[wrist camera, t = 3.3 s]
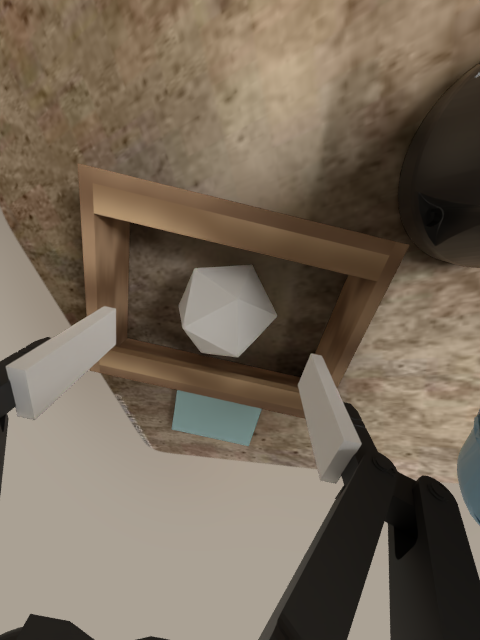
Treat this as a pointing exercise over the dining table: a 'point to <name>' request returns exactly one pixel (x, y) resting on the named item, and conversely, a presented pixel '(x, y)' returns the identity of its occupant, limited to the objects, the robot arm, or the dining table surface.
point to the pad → (214, 418)
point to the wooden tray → (237, 231)
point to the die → (225, 309)
